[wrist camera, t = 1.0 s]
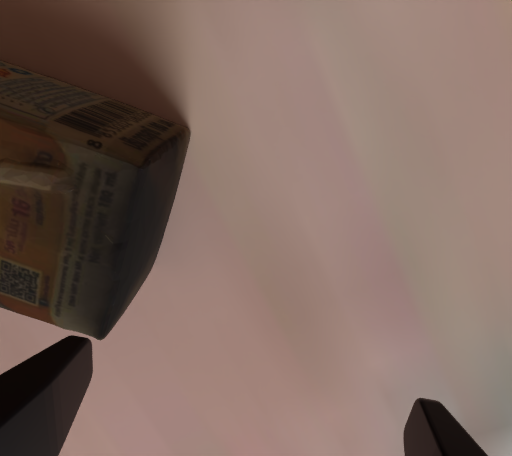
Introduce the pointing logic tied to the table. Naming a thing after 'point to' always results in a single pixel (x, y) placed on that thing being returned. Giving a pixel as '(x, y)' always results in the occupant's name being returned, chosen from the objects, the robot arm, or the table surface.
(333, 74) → the table surface
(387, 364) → the table surface
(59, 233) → the beverage carton
